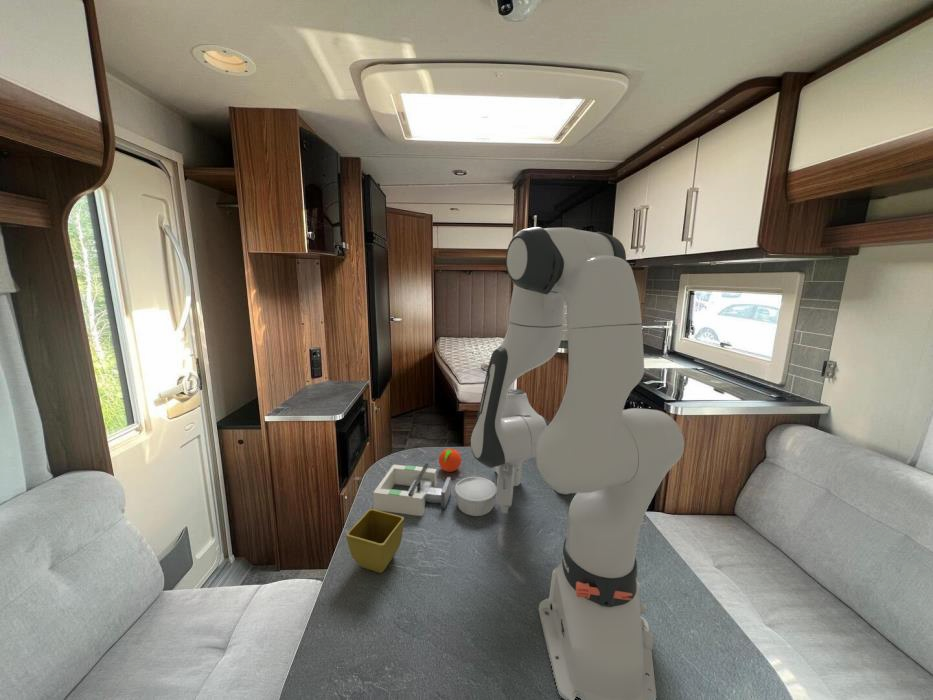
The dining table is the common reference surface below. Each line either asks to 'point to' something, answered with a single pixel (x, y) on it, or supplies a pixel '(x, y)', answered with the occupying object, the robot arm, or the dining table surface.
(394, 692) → the dining table surface
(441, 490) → the grey metal pieces
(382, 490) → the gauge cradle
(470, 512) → the ramekin
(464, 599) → the dining table surface
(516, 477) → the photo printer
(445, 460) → the red tomato
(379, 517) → the flower pot
